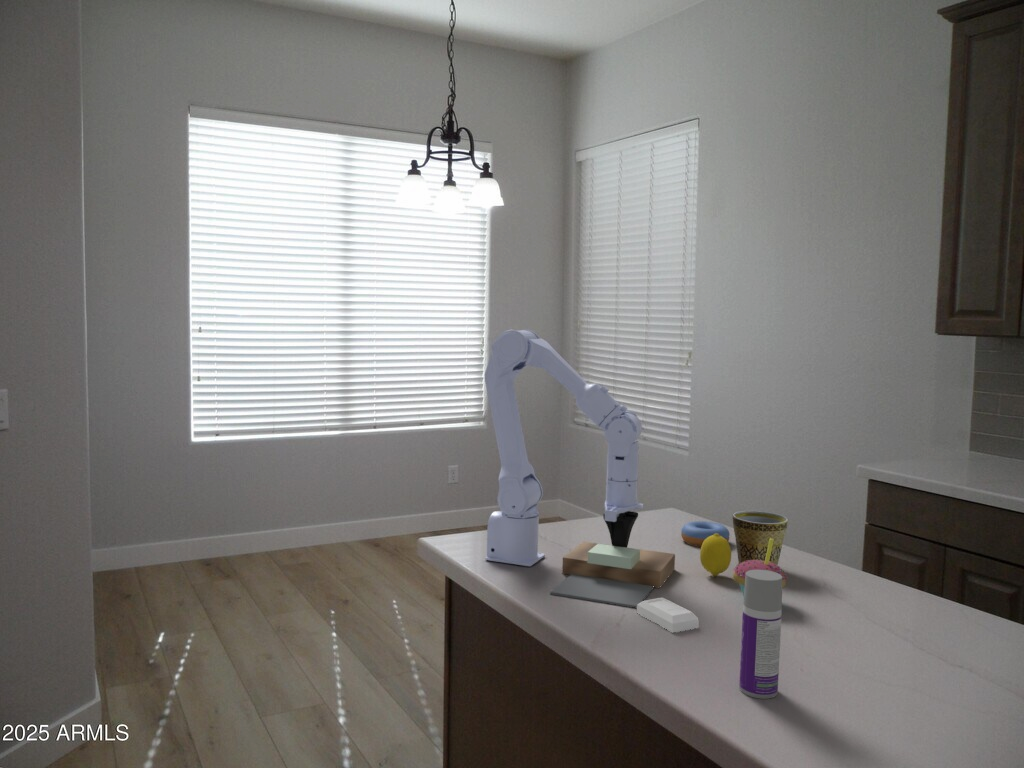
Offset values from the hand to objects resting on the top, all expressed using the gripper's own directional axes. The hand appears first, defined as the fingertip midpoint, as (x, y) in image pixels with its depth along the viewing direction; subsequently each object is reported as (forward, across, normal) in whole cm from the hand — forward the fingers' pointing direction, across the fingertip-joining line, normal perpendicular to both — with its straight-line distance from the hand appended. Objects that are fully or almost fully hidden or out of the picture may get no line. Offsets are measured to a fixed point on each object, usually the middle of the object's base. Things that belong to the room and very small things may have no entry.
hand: (619, 551), depth 152 cm
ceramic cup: (+4, +16, -23) cm, 28 cm away
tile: (+1, -4, 0) cm, 4 cm away
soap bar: (+4, -20, -13) cm, 25 cm away
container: (+4, -40, -29) cm, 49 cm away
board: (+4, 0, 0) cm, 4 cm away
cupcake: (+4, -6, -26) cm, 26 cm away
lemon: (+4, +6, -16) cm, 18 cm away
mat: (+4, -12, 0) cm, 12 cm away
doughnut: (+4, +28, -11) cm, 31 cm away
